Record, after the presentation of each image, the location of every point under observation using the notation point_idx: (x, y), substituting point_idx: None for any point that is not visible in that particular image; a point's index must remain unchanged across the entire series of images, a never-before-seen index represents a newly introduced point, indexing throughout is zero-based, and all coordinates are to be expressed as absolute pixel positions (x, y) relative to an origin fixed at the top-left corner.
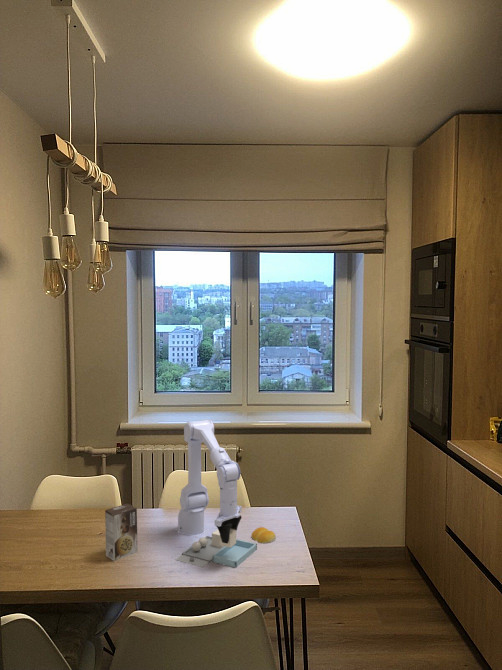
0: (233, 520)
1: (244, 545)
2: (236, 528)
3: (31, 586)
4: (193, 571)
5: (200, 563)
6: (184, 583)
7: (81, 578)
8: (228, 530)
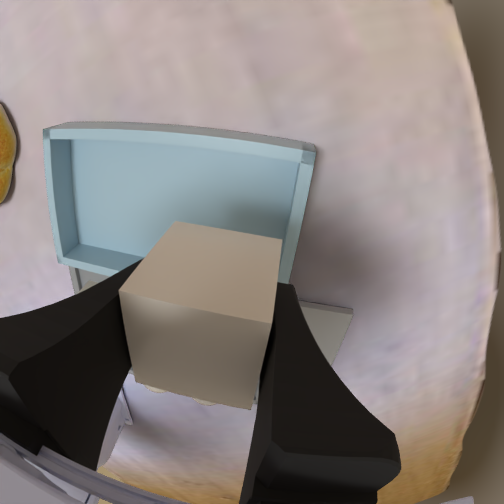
0: (70, 399)
1: (67, 196)
2: (99, 297)
3: (437, 488)
4: (381, 331)
5: (321, 332)
6: (472, 323)
7: (418, 474)
8: (334, 388)
